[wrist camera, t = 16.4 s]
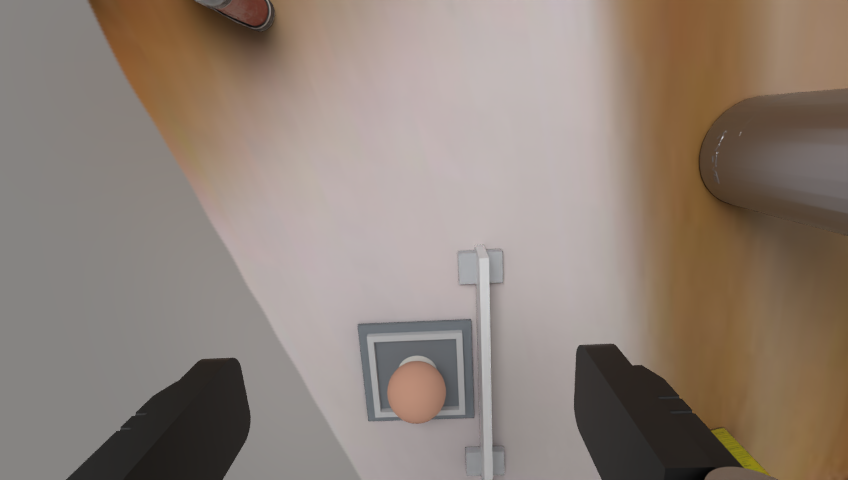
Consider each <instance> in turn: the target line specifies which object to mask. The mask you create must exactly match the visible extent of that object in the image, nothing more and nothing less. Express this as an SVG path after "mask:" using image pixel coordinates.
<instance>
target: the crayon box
mask: <svg viewBox="0 0 848 480" xmlns="http://www.w3.org/2000/svg"><path fill="white" fill-rule="evenodd" d="M711 432H712V433H713V434H714V435H715V436H716V437H717V438H718V439H719V441H720V442H721V443H722V444H723V445H724V446H725V447H726V448H727V449H728V451H729V452H730V453H731V454H732V455H733V456H734V457H735V458H736V459H737V461H738V462H739V463H740V464H741V465H742V466H743V467H744V468H747V469H751V470H755V471H758V472H761V473H764V474H766V475H769V474H768V473H767V472H766V471H765V470H764V469H763V468H762V467H761V466H760V464H758V462H757V461H756V460H755V459H754V458H753V457H752V456H751V455H750V454H749V453H748V452H747V451H746V450H745V449H744V448H743V447H742V446H741V445H740V444H739V443H738V442H737V441H736V440H735V439H734V438H733V437H732V436H731V435H730V434H729V433H728V432H727V431H726V429H724V428H723V427H722V428H718V429H716V430H711ZM769 476H770V475H769Z"/></svg>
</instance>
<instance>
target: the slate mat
mask: <svg viewBox="0 0 848 480" xmlns="http://www.w3.org/2000/svg"><path fill="white" fill-rule="evenodd" d="M358 333H359V342H360V351H361V360H362V369H363V378H364V387H365V395H366V404H367V413H368V421H392V420H402V419H401V418H399V417H398V416H397V415H396V414H395V413H394V412H393V410H392V409H391V407H390V404H389V401H388V396H387V389H388V384H389V380H390V378H391V376H392V375H393V373H394V372H395V371H396V370H397V369H398V368H399V367H400V366H402V365H403V364H405V363H408V362H411V361H422V362H426V363H429V364H430V365H432V366H433V367H435V368H436V369H437V370H438V371H439V372H440V374H441V375H442V377H443V379H444V382H445V387H446V398H445V402H444V405H443V407H442V409H441V410H440V412H439V413H438V414H437V415H436V416H435V417H434V418H432V419H454V418H474V402H473V370H472V338H471V319H465V320H441V321H417V322H394V323H370V324H358Z"/></svg>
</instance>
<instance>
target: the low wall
mask: <svg viewBox="0 0 848 480" xmlns="http://www.w3.org/2000/svg"><path fill="white" fill-rule="evenodd" d="M458 273H459V284H476V307H477V344H478V381H479V418H480V447H465V453H466V474H467V476H481V477H482V480H493V475H504V449H503V446H492V400H491V344H490V287H489V283H501V282H503V266H502V250H501V249H489V250H486V249H485V247H484V245H475V250H468V251H458Z"/></svg>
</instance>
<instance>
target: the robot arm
mask: <svg viewBox="0 0 848 480" xmlns="http://www.w3.org/2000/svg"><path fill="white" fill-rule="evenodd" d="M700 171H701V176H702V179H703V181H704V183H705V185H706V187H707V188H708V189H709V191H710V192H711V193H712V194H713V195H714V196H716V197H717V198H718V199H720V200H721V201H724V202H726V203H729V204H731V205H735V206H739V207H743V208H746V209H750V210H754V211H757V212H761V213H764V214H768V215H771V216H775V217H779V218H783V219H787V220H790V221H794V222H798V223H802V224H805V225H809V226H813V227H817V228H820V229H824V230H828V231H832V232H835V233H839V234H843V235H847V236H848V88H845V89H834V90H823V91H811V92H798V93H787V94H776V95H765V96H757V97H753V98H749V99H746V100H744V101H742V102H740V103H737V104H735V105H734V106H732V107H731V108H730V109H728V110H727V111H725V112H724V113H723V114H722V115H721V116H720V117H719V118H718V119H717V120H716V121H715V122H714V124H713V125H712V127H711V128H710V130H709V131H708V133H707V135H706V137H705V139H704V142H703V144H702V148H701V152H700ZM574 410H575V417H576V422H577V426H578V429H579V432H580V434H581V436H582V438H583V441H584V443H585V445H586V447H587V449H588V451H589V453H590V456H591V458H592V460H593V462H594V464H595V466H596V468H597V470H598V473H599V475H600V477H601V479H602V480H778V479H776V478H774V477H771V476H769V475H766V474H764V473H761V472H758V471H755V470H751V469H747V468H744V467H743V466H742V465H741V464H740V463H739V462H738V461H737V459H736V458H735V457H734V456H733V455H732V454H731V453H730V452H729V451H728V449H727V448H726V447H725V446H724V445H723V444H722V443H721V442H720V441H719V439H718V438H717V437H716V436H715V435H714V434H713V433H712V432H711V431H710V429H709V428H708V427H707V426H706V425H705V424H704V423H703V422H702V421H701V420H700V418H699V417H698V416H697V415H696V414H693V413H692V410H691V408H690V407H689V406H688V405H687V404H686V403H685V402H684V401H683V400H682V399H680V398H679V395H678V394H677V393H676V392H675V391H674V390H673V388H672V387H671V386H670V385H669V384H668V383H667V382H666V381H665V380H664V379H663V378H662V377H660V376H658V375H657V374H655V373H654V372H652V371H650V370H649V369H647V368H645V367H644V366H642V365H634V366H632V365H631V363H630V362H629V361H628V360H627V358H626V357H625V356H624V355H623V354H622V352H621V351H620V350H619V349H618V347H617V346H616V345H614V344H594V345H579V346H578V348H577V353H576V371H575V394H574ZM249 428H250V410H249V405H248V401H247V395H246V390H245V385H244V380H243V375H242V370H241V366H240V363H239V362H238V360H237V359H235V358H217V359H202V360H200V361H198V362H197V363H196V364H195V365H194V366H193V367H192V368H191V369H190V370H189V371H188V372H187V373H186V374H185V375H184V376H183V377H182V378H181V379H180V380H179V381H177V382H175V383H174V384H172V385H170V386H169V387H167V388H165V389H164V390H162V391H160V392H159V393H157V394H156V395H154V396H153V397H152V398H151V399H150V400H149V401H147V402H146V403H145V404H144V405H143V406H142V407H141V408H140V409H139V410H138V411H137V412H136V415H135V416H132V417H131V418H130V419H129V420H128V421H127V422H126V423H125V424H124V425H123V426H121V430H120V431H116V433H114V434H113V435H112V436H111V437H110V438H109V439H108V440H107V441H106V442H105V443H104V444H103V445H102V446H101V447H100V448H99V449H98V450H97V451H95V453H93V454H92V455H91V456H90V457H89V458H88V459H87V460H86V461H85V462H84V463H83V464H82V465H81V466H80V467H79V468H78V469H77V470H76V471H75V472H74V473H73V474H72V475H71V476H70V477H68V479H66V480H223V478H224V476H225V475H226V473H227V471H228V470H229V468H230V466H231V465H232V463H233V461H234V460H235V458H236V456H237V455H238V453H239V451H240V450H241V448H242V446H243V445H244V443H245V441H246V439H247V436H248V433H249Z"/></svg>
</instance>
